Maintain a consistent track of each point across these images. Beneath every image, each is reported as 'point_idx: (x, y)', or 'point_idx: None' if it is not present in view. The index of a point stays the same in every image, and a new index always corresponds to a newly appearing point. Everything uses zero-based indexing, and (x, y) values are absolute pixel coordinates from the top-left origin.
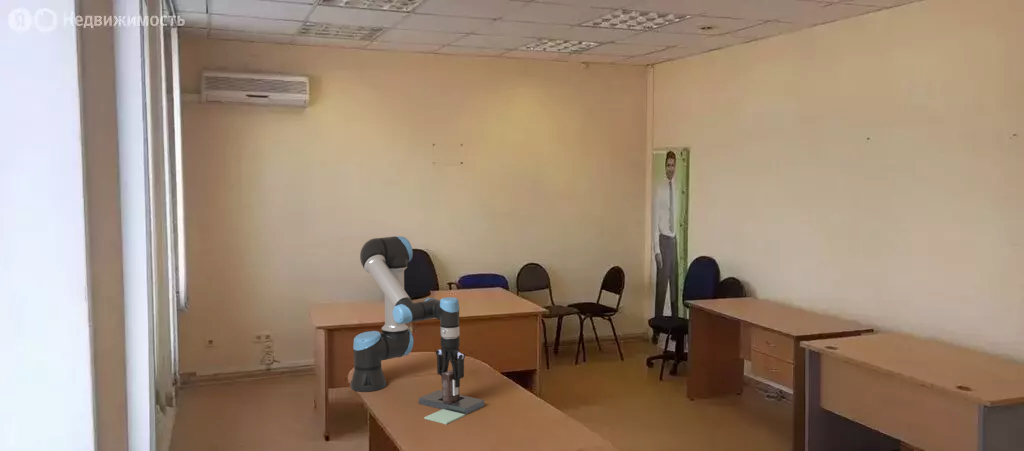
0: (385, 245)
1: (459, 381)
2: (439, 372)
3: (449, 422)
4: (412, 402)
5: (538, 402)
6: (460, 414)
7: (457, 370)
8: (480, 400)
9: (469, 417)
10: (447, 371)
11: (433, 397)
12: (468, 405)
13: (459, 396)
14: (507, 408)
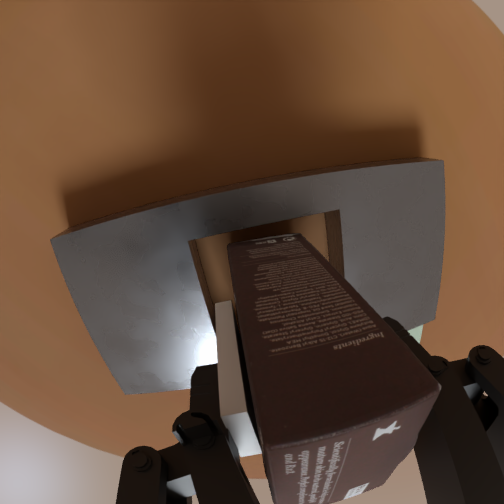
0: None
1: (419, 347)
2: (188, 500)
3: None
4: (99, 376)
5: (485, 15)
6: (411, 330)
7: (471, 448)
8: (434, 179)
9: (439, 306)
10: (281, 490)
11: (167, 352)
12: (428, 284)
13: (281, 217)
14: (485, 121)
